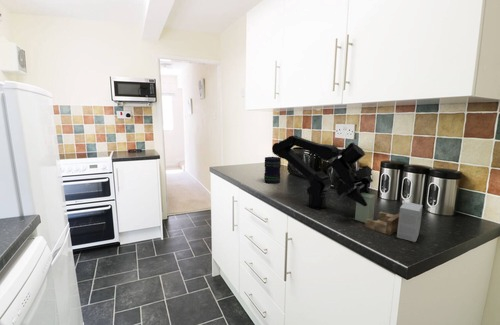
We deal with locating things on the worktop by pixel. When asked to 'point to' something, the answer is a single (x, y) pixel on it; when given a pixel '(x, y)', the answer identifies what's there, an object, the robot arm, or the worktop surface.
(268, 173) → the storage jar
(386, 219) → the wooden stepped block
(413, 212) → the small box
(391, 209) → the worktop surface
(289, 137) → the robot arm
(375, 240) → the worktop surface
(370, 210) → the green rectangular block
